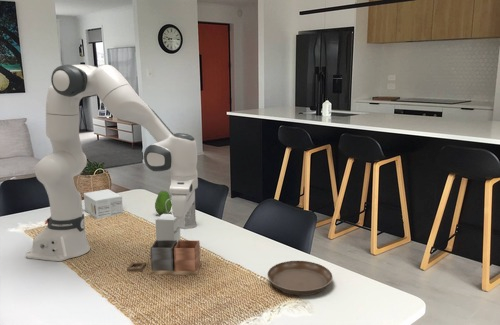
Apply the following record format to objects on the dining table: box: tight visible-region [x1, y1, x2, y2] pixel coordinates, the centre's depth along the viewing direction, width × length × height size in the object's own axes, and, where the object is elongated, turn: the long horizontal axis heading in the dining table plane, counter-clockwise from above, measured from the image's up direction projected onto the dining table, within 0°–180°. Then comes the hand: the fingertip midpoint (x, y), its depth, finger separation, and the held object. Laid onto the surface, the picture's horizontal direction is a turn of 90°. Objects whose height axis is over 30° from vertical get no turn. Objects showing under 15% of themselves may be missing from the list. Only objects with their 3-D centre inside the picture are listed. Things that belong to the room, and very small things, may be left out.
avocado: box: [154, 190, 172, 216], centre depth 211 cm, size 8×8×12 cm
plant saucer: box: [267, 260, 333, 296], centre depth 142 cm, size 21×21×3 cm
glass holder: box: [165, 198, 198, 230], centre depth 194 cm, size 9×14×15 cm, turn 124°
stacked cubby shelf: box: [149, 239, 202, 276], centre depth 152 cm, size 16×9×9 cm, turn 87°
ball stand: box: [126, 261, 147, 273], centre depth 153 cm, size 5×5×1 cm
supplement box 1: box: [83, 188, 124, 220], centre depth 216 cm, size 17×13×9 cm
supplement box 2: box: [155, 213, 181, 242], centre depth 171 cm, size 7×7×13 cm
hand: (185, 222), depth 149 cm, fingers open, 8 cm apart
